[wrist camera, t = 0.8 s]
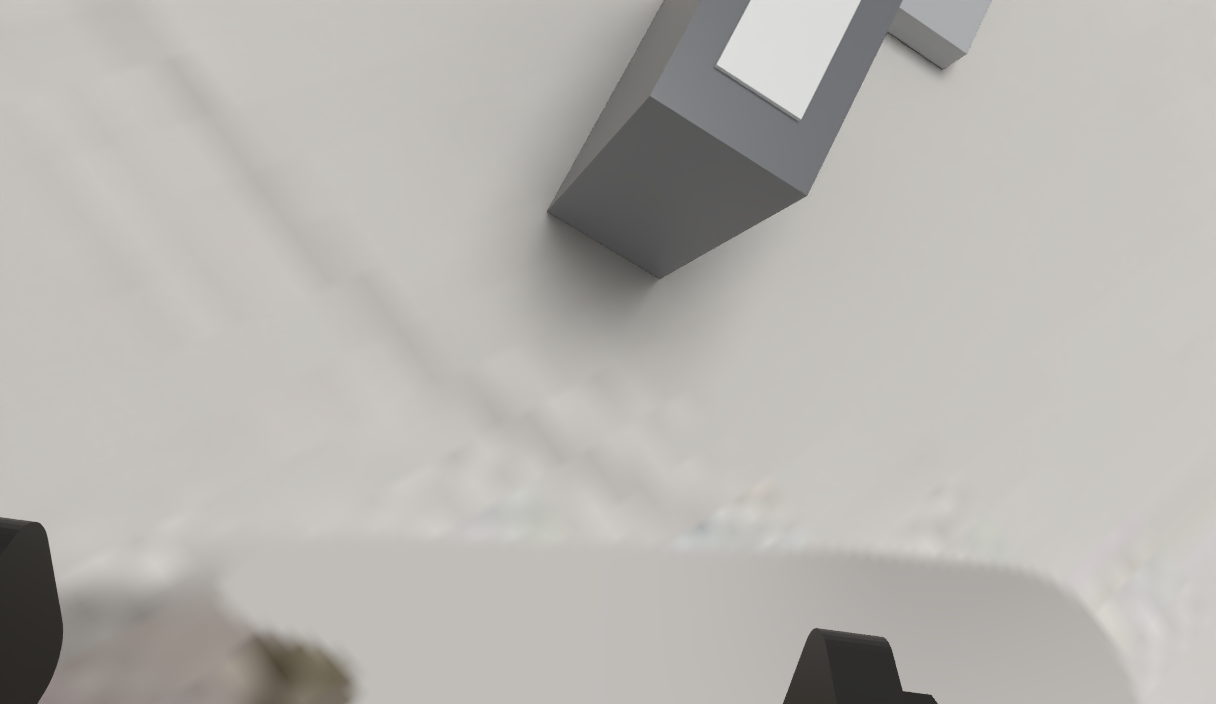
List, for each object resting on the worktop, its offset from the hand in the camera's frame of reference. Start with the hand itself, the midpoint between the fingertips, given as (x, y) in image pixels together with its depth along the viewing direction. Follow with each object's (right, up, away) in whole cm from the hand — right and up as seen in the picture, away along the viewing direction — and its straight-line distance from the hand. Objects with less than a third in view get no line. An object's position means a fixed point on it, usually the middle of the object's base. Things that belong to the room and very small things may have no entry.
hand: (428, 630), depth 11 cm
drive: (+4, +10, +25) cm, 27 cm away
